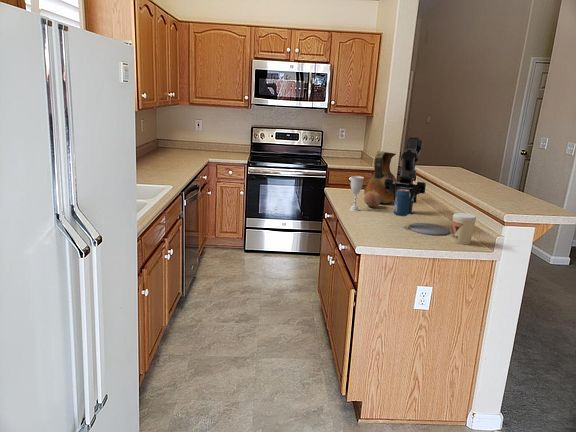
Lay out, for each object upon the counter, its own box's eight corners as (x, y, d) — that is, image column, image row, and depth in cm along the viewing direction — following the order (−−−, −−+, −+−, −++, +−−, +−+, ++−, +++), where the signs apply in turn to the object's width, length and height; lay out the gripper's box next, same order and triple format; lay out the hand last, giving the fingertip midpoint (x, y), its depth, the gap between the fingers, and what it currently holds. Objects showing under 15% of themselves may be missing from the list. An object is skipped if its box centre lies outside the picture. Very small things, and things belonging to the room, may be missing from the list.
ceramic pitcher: (401, 201, 278) (407, 151, 270) (390, 207, 261) (395, 154, 254) (371, 196, 287) (376, 148, 280) (358, 201, 271) (362, 150, 264)
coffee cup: (445, 238, 205) (449, 212, 202) (466, 239, 205) (470, 212, 203) (455, 245, 196) (459, 217, 193) (476, 245, 196) (480, 218, 194)
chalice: (362, 209, 252) (365, 176, 247) (359, 212, 245) (362, 178, 241) (348, 207, 254) (351, 175, 250) (346, 210, 248) (349, 177, 243)
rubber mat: (427, 223, 229) (428, 221, 229) (457, 233, 214) (457, 231, 214) (400, 226, 220) (401, 224, 220) (429, 237, 205) (429, 235, 205)
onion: (362, 205, 263) (363, 187, 261) (378, 206, 263) (380, 188, 260) (364, 208, 254) (366, 191, 251) (381, 209, 254) (383, 191, 251)
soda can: (410, 215, 218) (413, 190, 215) (404, 217, 213) (407, 192, 210) (397, 212, 222) (400, 187, 219) (390, 214, 217) (393, 189, 214)
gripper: (387, 161, 218) (381, 188, 211) (428, 165, 212) (423, 193, 205) (387, 175, 227) (382, 201, 220) (426, 179, 222) (422, 206, 214)
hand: (402, 200), depth 214 cm, fingers closed on soda can, 7 cm apart
